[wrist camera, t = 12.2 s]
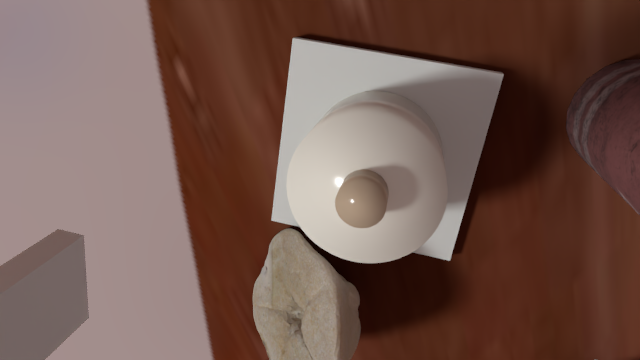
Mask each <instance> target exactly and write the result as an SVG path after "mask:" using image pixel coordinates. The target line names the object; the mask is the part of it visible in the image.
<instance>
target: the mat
mask: <svg viewBox="0 0 640 360" xmlns="http://www.w3.org/2000/svg"><path fill="white" fill-rule="evenodd" d="M503 76H504V74H503V73H502V72H497V71H491V70H485V69H479V68H474V67H468V66H462V65H456V64H450V63H444V62H439V61H433V60H427V59H421V58H415V57H410V56H404V55H398V54H392V53H386V52H381V51H375V50H369V49H363V48H357V47H351V46H346V45H340V44H334V43H328V42H322V41H317V40H311V39H305V38H299V37H294V38H293V41H292V49H291V58H290V66H289V75H288V83H287V92H286V100H285V109H284V117H283V126H282V134H281V143H280V151H279V160H278V168H277V177H276V185H275V194H274V202H273V211H272V219H271V221H276V222H280V223H285V224H289V225H293V226H298V227H300V226H299V225H298V223H297V222H296V220H295V218H294V216H293V214H292V211H291V208H290V205H289V201H288V197H287V187H286V183H287V173H288V168H289V164H290V161H291V159H292V156H293V154H294V152H295V150H296V149H297V147H298V146H299V144H300V143H301V141H302V140H303V139H304V138H305V137H306V136H307V134H308V133H309V132H310V131H311V130H312V129H313V128H314V126H315V125H316V124H317V123H318V122H319V121H320V120H321V118H322V117H323V116H324V115H325V114H326V113H327V112H328V111H329V110H330V109H331V108H332V107H333V106H334V105H335V104H337V103H338V102H340V101H341V100H343V99H345V98H347V97H349V96H351V95H354V94H357V93H361V92H367V91H385V92H391V93H395V94H398V95H401V96H403V97H406V98H408V99H409V100H411V101H413V102H414V103H416V104H417V105H418V106H420V107H421V108H422V109H423V110H424V111H425V112H426V113H427V114H428V115H429V117H430V118H431V119H432V121H433V122H434V124H435V126H436V127H437V130H438V132H439V135H440V138H441V142H442V147H443V155H444V162H445V170H446V177H447V186H448V196H447V204H446V209H445V212H444V215H443V218H442V220H441V222H440V224H439V226H438V228H437V229H436V231H435V232H434V233H433V235H432V236H431V237H430V238H429V239H428V240H427V241H426V242H425V243H424V244H423V245H422V246H421V247H419V248H418V249H417V250H415V251H413V253H417V254H422V255H426V256H431V257H435V258H439V259H444V260H448V261H450V259H451V256H452V252H453V249H454V245H455V242H456V238H457V235H458V231H459V228H460V224H461V221H462V218H463V214H464V211H465V207H466V204H467V200H468V197H469V193H470V190H471V186H472V183H473V180H474V176H475V173H476V169H477V166H478V162H479V159H480V155H481V152H482V148H483V145H484V142H485V138H486V135H487V131H488V128H489V124H490V121H491V117H492V114H493V110H494V107H495V103H496V100H497V97H498V93H499V90H500V86H501V83H502V79H503Z"/></svg>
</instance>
